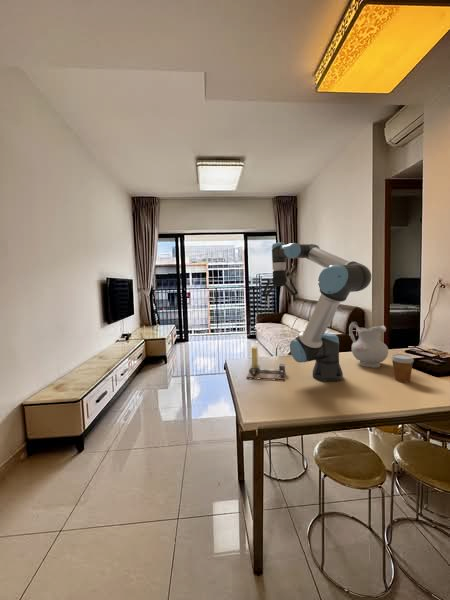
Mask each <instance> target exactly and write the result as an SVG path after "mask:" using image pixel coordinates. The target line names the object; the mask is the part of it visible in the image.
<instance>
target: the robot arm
mask: <svg viewBox="0 0 450 600" xmlns="http://www.w3.org/2000/svg"><path fill="white" fill-rule="evenodd" d="M286 259H306V260H307V259H308V260H309V261H311V262H313V263H314V264H317V265H319V266H321V267H323V269H322V270H321V271H320V273H319V276H318V277H317V278H318V279H317V281H318V288H319V293H320V296H319V298H318V301H317V303H316V304H315V307H314V309H313V311H312V313H311V315H310V318H309V320H308V322H307V325H306V327H305V329H304V330H302V331H301V332H300V333H299V335H298V337H297V338H296V339H292V340H291V341H290V343H289V351H290V355H291V356H292V358H293V359H294V361H295V362H297V363H307V362H313V361H315V363H314V366H313V369H312V377H313V378H314V379H316V380H318V381H322V382H323V381H324V382H327V383H328V382H334V383H335V382H340V381H342V380H343V379H344V373H343V371H342V367H341V365H340V341H339V339H340V338H339V336H338V335H336V334H334V333H327V332H326V331H327V328H328V327H329V325H330V323H331V321H332V319H333V317H334V315H335V313H336V312H337V309H338V308H339V306H340V304H341V302H345V301H346V300H347V298H348V296H349V295H350V293H355V292H360V291H364V290H366V288H368V287H369V285H370V284H371V282H372V273H371V270H370V269H369V268H368V267H367V266H366V265H364V264H362V263H359V262H357V261H353V260H352V261H349V260H346V259H344V258H342V257H339V256H337V255H336V254H332V253H331V252H328V251H326V250H323V249H321V248H320V246H319V245H317V244H315V243H310V244H309V243H308V244H307V243H306V244H304V243H303V244H301V243H300V244H299V243H296V242H294V243H293V242H292V243H291V242H290V243H288V244H285V242H275V243H272V245H271V260H272V263H271V264H272V279H270V278H267V281H266V282H267V283H266V285H265V286H264V289H263V291H262V293H261V295H262V296H265V302H267V308H270V296H269V295H270V294H271V292H272V291H273V290H274V288H275V287H278V288H279V287H283V286H284V287H285V288H286V289H287V290H288V291H289V293H291V297H290V298H291V307H292V308H294V302H295V301H296V295H298V294H299V291H298V289H297V288H296V286H295V284H294V282H293V279H292V278H291V277H290V278H287V270H286V269H287V266H286V265H287V262H286V261H287V260H286ZM287 282H289V284H290V285H291V287H292V289H293V290H292V289H291V288H290V287H289V286H288V284H287ZM272 283H273V285H272V286H271V287H270V288H269V289H268V287H269V286H270V284H272ZM267 290H268V291H267Z"/></svg>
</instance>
